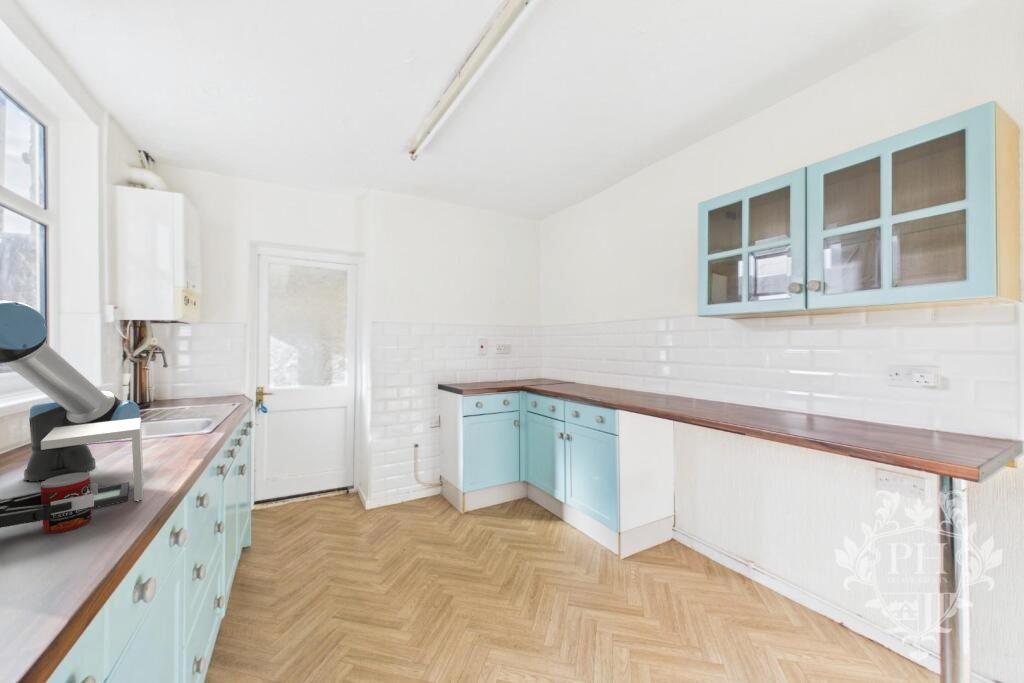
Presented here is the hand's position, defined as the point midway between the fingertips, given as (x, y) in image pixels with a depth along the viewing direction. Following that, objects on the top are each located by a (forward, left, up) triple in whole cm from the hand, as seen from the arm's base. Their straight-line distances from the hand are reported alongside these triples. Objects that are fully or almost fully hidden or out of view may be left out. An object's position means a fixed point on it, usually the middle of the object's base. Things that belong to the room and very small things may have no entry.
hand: (95, 494), depth 96 cm
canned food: (+3, -4, -6) cm, 8 cm away
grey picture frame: (-11, -11, -6) cm, 17 cm away
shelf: (-11, -11, -6) cm, 17 cm away
